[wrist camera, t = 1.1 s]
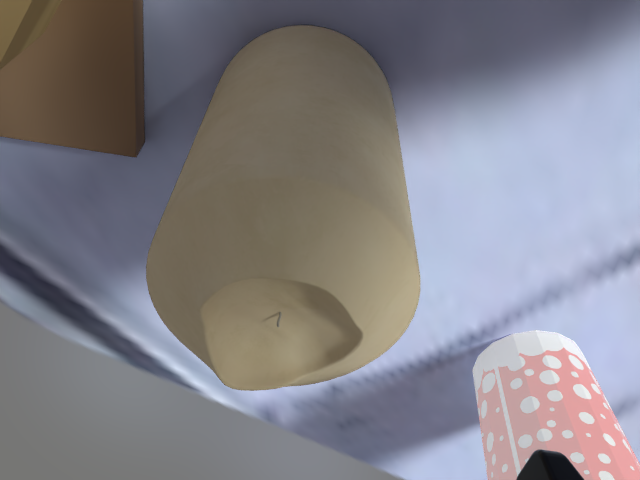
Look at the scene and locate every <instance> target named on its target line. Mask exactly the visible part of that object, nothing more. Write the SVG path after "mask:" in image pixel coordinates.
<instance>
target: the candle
mask: <svg viewBox="0 0 640 480" xmlns="http://www.w3.org/2000/svg"><path fill="white" fill-rule="evenodd" d="M146 279H147V285H148V290H149V294H150V297H151V299H152V302H153V305H154V307H155V309H156V311H157V313H158V315H159V316H160V318H161V319H162V321H163V322H164V324H165V325H166V326H167V328H168V329H169V330H170V331H171V332H172V333H173V334H174V335H175V337H176V338H177V339H178V340H179V341H180V342H181V343H183V344H184V345H185V346H186V347H187V348H188V349H189V350H190V351H192V352H193V353H194V354H195V355H196V356H197V357H198V358H200V359H201V360H202V361H203V362H204V363H205V364H206V365H207V366H209V367H210V368H211V369H212V370H213V371H214V373H215V374H216V375H217V376H218V378H219V379H220V380H221V381H222V383H223V384H224V385H226V386H228V387H230V388H232V389H237V390H250V391H254V390H268V389H276V388H281V387H288V386H301V385H308V384H315V383H319V382H323V381H328V380H331V379H334V378H337V377H340V376H343V375H346V374H348V373H351V372H353V371H355V370H357V369H359V368H361V367H363V366H365V365H366V364H368V363H370V362H371V361H373V360H375V359H376V358H378V357H379V356H381V355H382V354H383V353H384V352H386V351H387V350H388V349H390V348H391V347H392V346H393V345H394V344H395V343H396V342H397V341H398V340H399V338H400V337H401V336H402V335H403V333H404V332H405V331H406V329H407V328H408V326H409V324H410V322H411V320H412V319H413V317H414V314H415V311H416V308H417V305H418V301H419V295H420V272H419V265H418V259H417V252H416V246H415V239H414V233H413V226H412V220H411V213H410V207H409V200H408V194H407V187H406V181H405V174H404V168H403V161H402V155H401V148H400V142H399V135H398V129H397V122H396V116H395V110H394V104H393V99H392V94H391V91H390V88H389V85H388V82H387V80H386V78H385V76H384V74H383V72H382V70H381V69H380V67H379V66H378V64H377V63H376V61H375V60H374V58H373V57H372V56H371V55H370V54H369V53H368V52H367V51H366V50H365V49H364V48H363V47H362V46H360V45H359V44H358V43H357V42H355V41H354V40H352V39H350V38H349V37H347V36H345V35H343V34H341V33H339V32H337V31H334V30H331V29H327V28H324V27H318V26H312V25H295V26H286V27H282V28H278V29H274V30H272V31H269V32H266V33H264V34H262V35H261V36H259V37H257V38H255V39H254V40H252V41H251V42H250V43H248V44H247V45H246V46H244V47H243V48H242V49H241V50H240V51H239V52H238V53H237V54H236V55H235V56H234V58H233V59H232V60H231V62H230V63H229V64H228V66H227V67H226V69H225V71H224V73H223V75H222V77H221V79H220V81H219V83H218V85H217V87H216V90H215V92H214V94H213V97H212V99H211V102H210V104H209V106H208V109H207V111H206V114H205V116H204V118H203V121H202V123H201V125H200V128H199V130H198V133H197V135H196V137H195V140H194V142H193V144H192V147H191V149H190V152H189V154H188V156H187V159H186V161H185V163H184V166H183V168H182V171H181V173H180V175H179V178H178V180H177V183H176V185H175V187H174V190H173V192H172V194H171V197H170V199H169V202H168V204H167V206H166V209H165V211H164V213H163V216H162V218H161V221H160V223H159V225H158V228H157V230H156V233H155V235H154V238H153V240H152V243H151V246H150V249H149V252H148V258H147V264H146Z"/></svg>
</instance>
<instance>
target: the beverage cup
mask: <svg viewBox="0 0 640 480" xmlns="http://www.w3.org/2000/svg"><path fill="white" fill-rule="evenodd" d="M472 371H473V378H474V385H475V392H476V399H477V406H478V413H479V421H480V428H481V435H482V442H483V449H484V456H485V463H486V470H487V478H488V480H516V479H517V476H518V474H519V473H520V471H521V470H522V468H523V467H524V465H525V464H526V462H527V461H528V459H529V458H530V456H531V455H532V453H533V452H534V451H536V450H538V449H542V450H549V451H556V452H560V453H562V454H563V455H565V456H566V457H567V458H568V459H569V461H570V462H571V463H572V464H573V466H574V467H575V468H576V469H577V471H578V472H579V473H580V475H581V476H582V477H583V478H584V480H640V464H639V462H638V460H637V458H636V456H635V454H634V452H633V450H632V448H631V446H630V444H629V442H628V440H627V438H626V437H625V435H624V433H623V431H622V429H621V427H620V425H619V423H618V421H617V419H616V417H615V415H614V413H613V411H612V409H611V407H610V405H609V403H608V401H607V399H606V398H605V396H604V394H603V392H602V390H601V388H600V386H599V384H598V382H597V380H596V378H595V376H594V374H593V372H592V370H591V368H590V366H589V364H588V362H587V361H586V359H585V357H584V355H583V353H582V352H581V350H580V349H579V347H578V346H577V345H576V343H575V342H574V341H573V340H571V339H569V338H567V337H565V336H563V335H561V334H559V333H555V332H546V331H538V330H533V331H527V332H521V333H514V334H511V335H509V336H507V337H504V338H502V339H500V340H498V341H495V342H493V343H492V344H491V345H490V346H488V347H487V348H486V349H485V350H484V351H483V352H482V353H481V354H480V355H479V356H478V358H477V360H476V363H475V365H474V367H473V370H472Z"/></svg>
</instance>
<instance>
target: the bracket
mask: <svg viewBox="0 0 640 480" xmlns="http://www.w3.org/2000/svg"><path fill="white" fill-rule="evenodd" d="M0 136H1V137H8V138H14V139H20V140H27V141H33V142H40V143H46V144H53V145H59V146H66V147H72V148H78V149H85V150H91V151H98V152H104V153H111V154H117V155H124V156H130V157H137V155H138V154H139V152H140V150H141V148H142V146H143V144H144V143H145V132H144V46H143V0H0Z"/></svg>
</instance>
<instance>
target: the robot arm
mask: <svg viewBox="0 0 640 480" xmlns="http://www.w3.org/2000/svg"><path fill="white" fill-rule="evenodd" d="M516 480H584V478H583V477H582V476H581V475H580V473H579V472H578V471H577V469H576V468H575V467H574V466H573V464H572V463H571V462H570V461H569V459H568V458H567V457H566V456H565V455H563V454H562V453H560V452H556V451H549V450H542V449H538V450H536V451H534V452H533V453H532V455H531V456H530V458H529V459H528V461H527V462H526V464H525V465H524V467H523V468H522V470H521V471H520V473H519V474H518V476H517V479H516Z"/></svg>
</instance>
